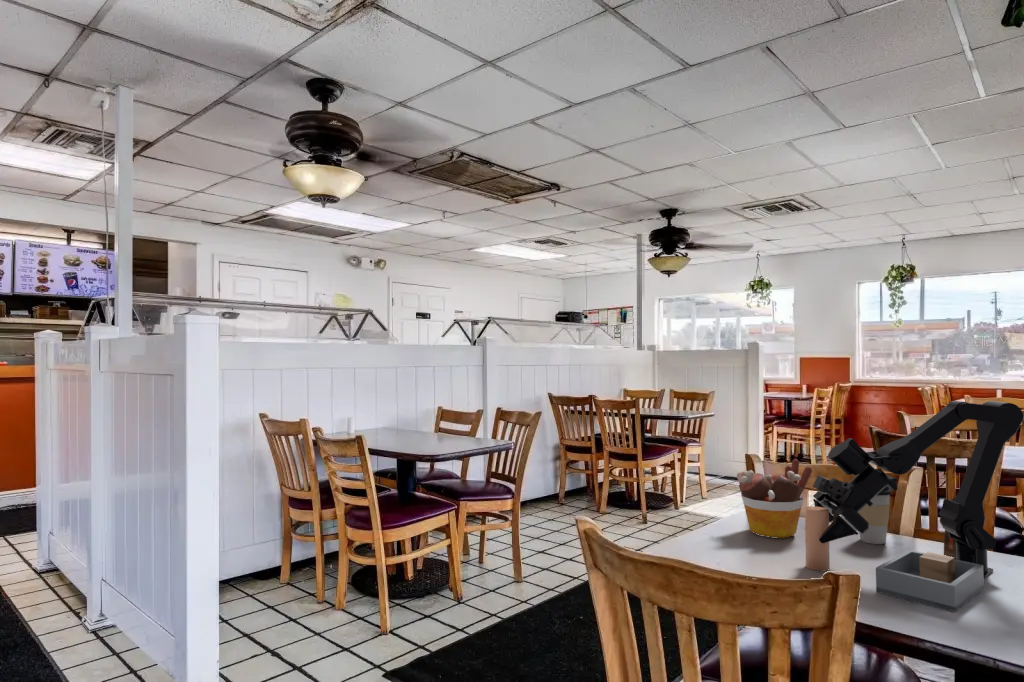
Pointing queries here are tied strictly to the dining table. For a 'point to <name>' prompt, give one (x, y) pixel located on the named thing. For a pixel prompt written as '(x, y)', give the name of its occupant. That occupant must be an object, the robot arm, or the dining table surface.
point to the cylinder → (816, 538)
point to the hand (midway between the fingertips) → (813, 535)
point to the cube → (937, 567)
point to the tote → (929, 582)
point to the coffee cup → (877, 518)
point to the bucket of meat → (773, 500)
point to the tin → (949, 545)
